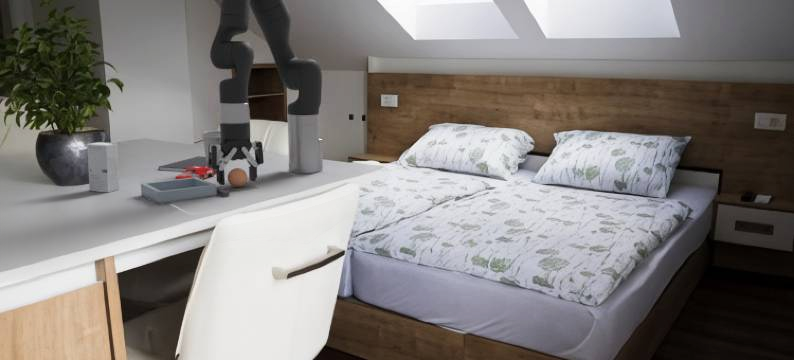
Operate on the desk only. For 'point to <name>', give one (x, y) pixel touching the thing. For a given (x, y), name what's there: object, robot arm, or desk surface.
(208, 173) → the race car
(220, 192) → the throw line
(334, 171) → the desk surface
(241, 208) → the desk surface
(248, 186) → the tee mat
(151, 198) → the blue-grey tray
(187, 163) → the notebook
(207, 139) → the cup
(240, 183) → the ball
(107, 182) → the skincare box
